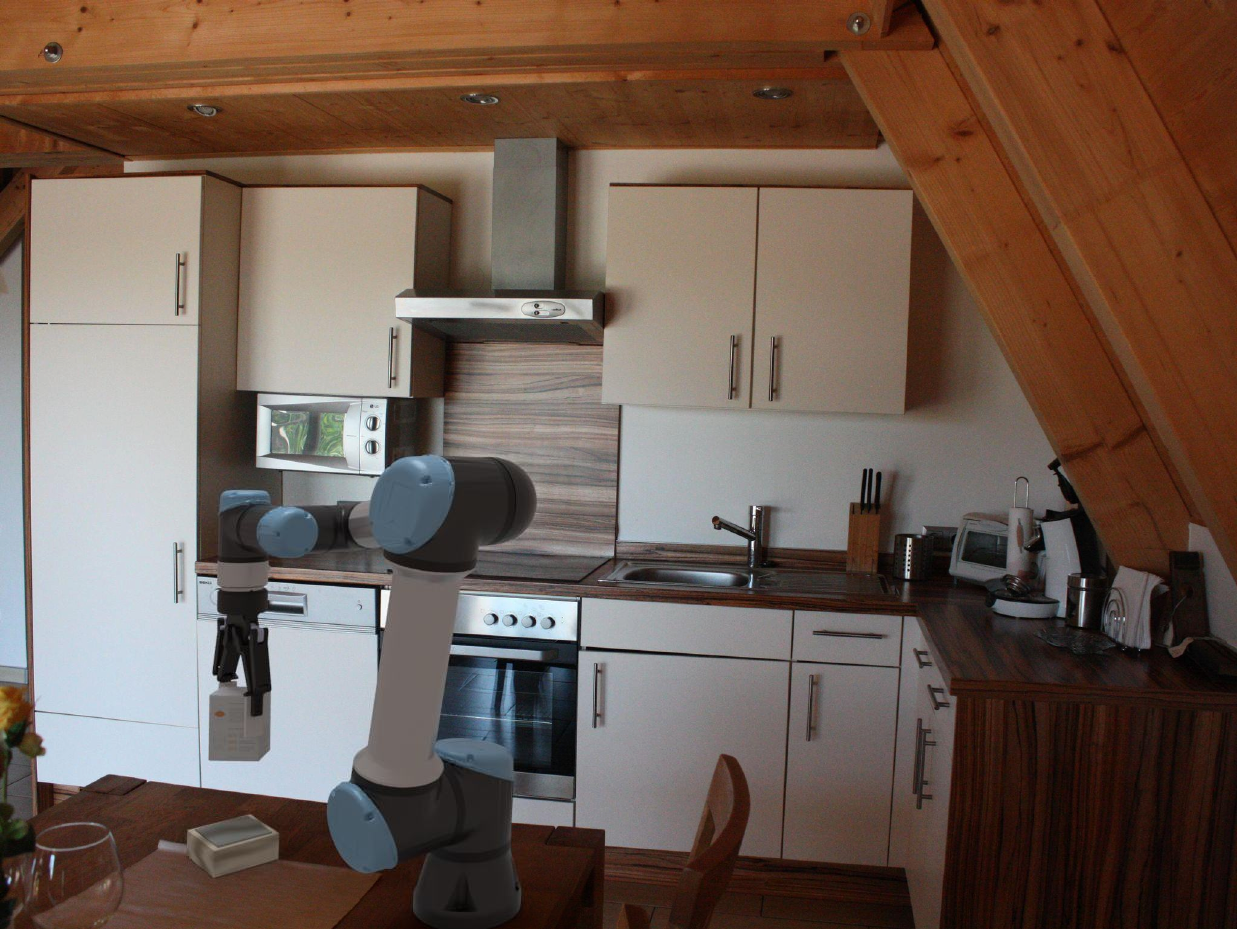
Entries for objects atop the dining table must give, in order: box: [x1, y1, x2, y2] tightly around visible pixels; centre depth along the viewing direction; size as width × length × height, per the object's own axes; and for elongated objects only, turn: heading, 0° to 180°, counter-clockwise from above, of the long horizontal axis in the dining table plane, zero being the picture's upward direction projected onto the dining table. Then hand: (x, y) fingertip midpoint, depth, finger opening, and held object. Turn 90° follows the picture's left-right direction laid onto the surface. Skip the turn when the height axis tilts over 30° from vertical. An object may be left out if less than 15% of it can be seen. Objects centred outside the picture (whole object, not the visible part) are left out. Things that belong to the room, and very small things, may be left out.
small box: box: [207, 685, 272, 762], centre depth 153 cm, size 8×6×10 cm
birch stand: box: [186, 813, 280, 879], centre depth 149 cm, size 10×10×4 cm
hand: (239, 728), depth 153 cm, fingers closed on small box, 9 cm apart
